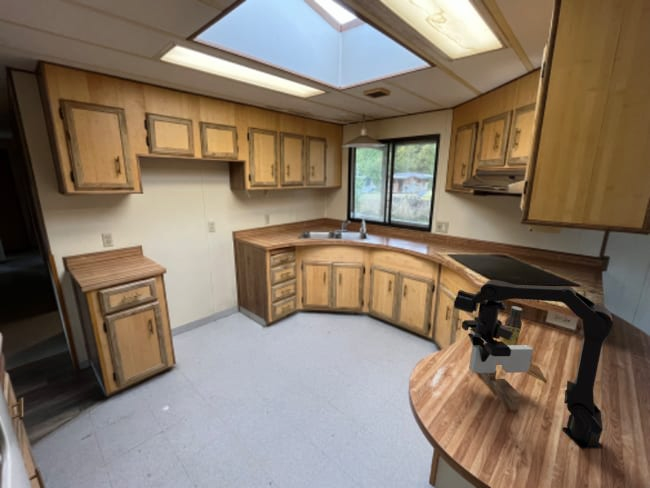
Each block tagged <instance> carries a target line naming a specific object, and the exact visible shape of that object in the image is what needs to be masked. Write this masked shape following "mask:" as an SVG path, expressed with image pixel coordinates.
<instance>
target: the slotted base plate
mask: <svg viewBox="0 0 650 488" xmlns="http://www.w3.org/2000/svg"><path fill="white" fill-rule="evenodd" d="M476 375H478V376H479V378H480V379H481V380H482V382H484V384H486V386H487V387H488V388H489V389H490V390H491V391H492V392H493V394H494V395H495V396H496V397H497V398H498V400H500V402H501V403H502V404H503V405H504V406H505V407H506V408H507V410H508V411H509V412H510V413H513V412H515V413H517V412H519V407H520V403H521V400H522V399H521V398H522V394H520V393H519V392H518V391H517V390H516V388H514V387H513V385H511V383H509V382H508V381H507V380H506V379H505V378H497V370H496V371H495V373H476Z"/></svg>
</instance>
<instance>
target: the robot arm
mask: <svg viewBox="0 0 650 488" xmlns="http://www.w3.org/2000/svg"><path fill="white" fill-rule="evenodd" d="M515 299H516V300H529V301H543V302H556V303H562V304H564V305H565V306H566V307H567V308H568V309H569V310H571V312H572V313H573V314H575V316H577V317H578V318H579V319H580V320H581V321H582V327H583V328H582V329H583V339H582V345H581V350H580V357H579V362H578V366H577V373H576V376H575V380H574V381H573V382H572V381H570V380H567V381H566V389H565V390H564V401H563V403H564V404H566V409H567V410H568V412H569V413H570V414H568V415H569V416H568V420H567V422H566V427H562V428H561V430H562V431H563V432H564V433H565V434H567V436H568V437H570V439H571V440H572V441H573V442H575V443H576V445H577V446H578V447H580V448H581V449H602V448H604V446H603V444H602V443H600V439H601V436H602V432H603V430H604V429H603V427H604V426H603V419H602V418H603V417H602V411H601V409H600V408H599V407H598V406H597V405H596V403H595V399H594V398H595V397H594V386H595V382H596V376H597V371H598V367H599V361H600V357H601V352H602V346H603V344H604V342H605V341H606V340H607V338H608V337H609V335H610V333H611V330H612V329H613V327H614V320H613V317H612V314H611V311H610V310H609V309H608V308H607V307H605V306H604V305H601V304H596V303H595V302H593V301H592V300H590V299H589V298H588V297H586V296H584V295H583V294H582V293H581V294H580V293H579V292H578V291H576V290H575V289H574V288H573V287H571V286H566V285H563V286H556V285H555V286H553V285H532V284H531V285H529V284H525V285H524V284H514V283H510V282H507V281H503V280H498V279H490V280H487V281H486V282H485V283H483V285H482V286H481V287H480V290H479V291H477V292H476V293H471V292H468V291H465V290H462V289H459V290H458V291H457V294H456V297H455V300H454V303H453V308H454V309H456V310H459V311H463V312H466V313H470V314H473V313H474V312H477V311H478V312H477V313H478V314H477V316H474V319H472V320H471V319H469V320H468V319H466V320H463V321H462V323H461V328H462V329H463V330H464V331H469V330H470V333H468V334H467V336H468V337H469V339H470V341H471V344H472V345H479V350H480V357H481V361H482V362H485V361H486V360H487V358H488V357H489V355H490V354H491V355H492V356H510V355H511V349H510V348H509V347H508V346H507V345H506V344H505V343H503V342H502V341H501V340H500V341H499V339H501V337H502V338H505V339H506V340H509V339H510V338H511V336H512V334H513V332H512V331H511V330H510V329H508V328H507V327H505V326H504V325H505V324H504V325H503V322H502V320H500V319H499V313H500V310H502V311H506V309H507V308H508V305H507V304H506V303H505V302H504V301H508V300H515Z"/></svg>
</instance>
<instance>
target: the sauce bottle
mask: <svg viewBox="0 0 650 488" xmlns="http://www.w3.org/2000/svg"><path fill="white" fill-rule="evenodd" d="M522 313H523V308H521V307H519V306H515V305H512V306H511V308H510V314H509V316H508V317H507V318H506V319H505V322H504V326H505V327H507V328H508V329H510V330H511V331H512V332H513V334H512V336H511V338H510V339H509V340H506V339H505V338H502V337H500V341H502V342H503V343H505V344H506V345H519V344H518V343H519V339H520V335H521V331H522V326H523V325H522V320H521V316H522Z"/></svg>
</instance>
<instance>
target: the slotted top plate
mask: <svg viewBox="0 0 650 488" xmlns="http://www.w3.org/2000/svg"><path fill="white" fill-rule="evenodd" d="M507 346H508V347H509V348H510V349H511V355H510V356H492V355H491V354H490V355H489V357H488V358H487V360H486V361H485V362H482V361H481V357H480V350H479V345H472V346H471V352H470V358H469V366H468V369H469V370H470V371H471V373H473V374H477V373H495V371H497V366H501V369H502V371H504V372H505V373H507V374H509V373H518V374H519V373H528V371H529V366H530V362H531V361H532V356H533V350H534V349H533V348H532V347H531V346H529V345H528V344H527V345H525V344H520V345H519V344H517V345H507Z"/></svg>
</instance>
